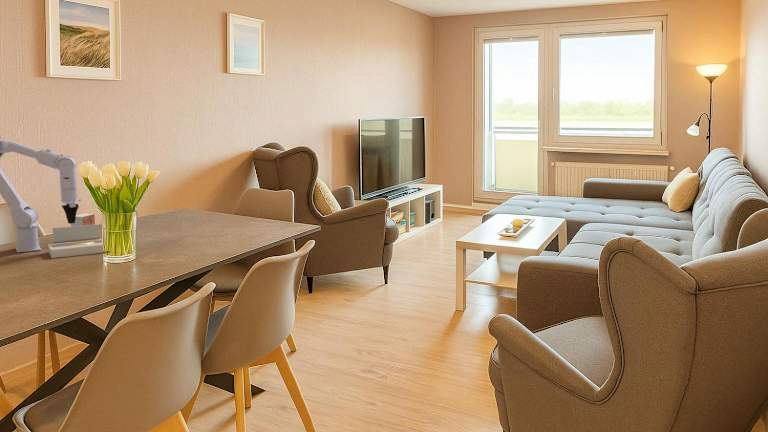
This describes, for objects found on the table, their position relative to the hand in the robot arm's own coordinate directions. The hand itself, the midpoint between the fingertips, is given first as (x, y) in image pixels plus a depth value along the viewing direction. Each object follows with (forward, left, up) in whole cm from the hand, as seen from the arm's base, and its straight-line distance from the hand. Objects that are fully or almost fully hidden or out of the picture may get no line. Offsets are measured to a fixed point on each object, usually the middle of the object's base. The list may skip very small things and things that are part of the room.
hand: (71, 223), depth 247 cm
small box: (-14, +6, -10) cm, 18 cm away
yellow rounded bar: (+8, +2, -8) cm, 11 cm away
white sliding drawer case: (+8, +1, -10) cm, 13 cm away
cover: (+4, +1, -4) cm, 6 cm away
